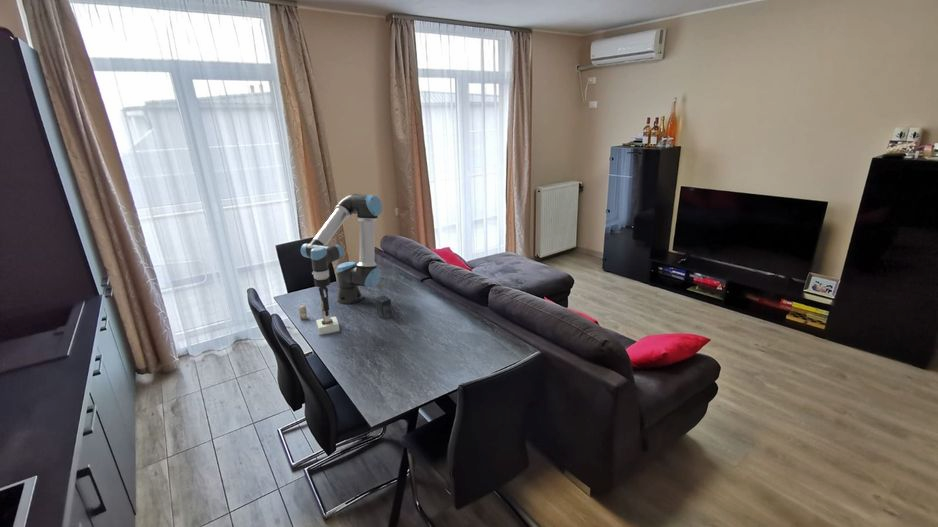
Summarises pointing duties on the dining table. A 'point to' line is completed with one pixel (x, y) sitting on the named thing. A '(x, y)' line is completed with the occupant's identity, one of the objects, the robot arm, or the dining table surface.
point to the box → (383, 307)
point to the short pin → (302, 312)
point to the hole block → (327, 326)
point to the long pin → (323, 315)
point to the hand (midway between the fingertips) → (327, 319)
